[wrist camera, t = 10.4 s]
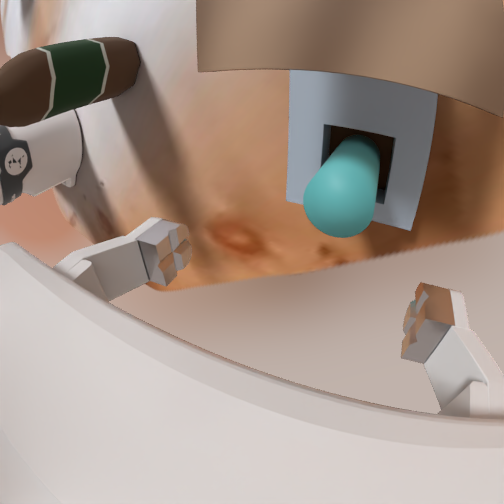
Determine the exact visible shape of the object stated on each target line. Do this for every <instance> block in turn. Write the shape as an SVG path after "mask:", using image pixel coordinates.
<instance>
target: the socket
mask: <svg viewBox="0 0 504 504" xmlns="http://www.w3.org/2000/svg"><path fill="white" fill-rule="evenodd" d="M437 98H438V94H436V93H433V92H429V91H426V90H422V89H418V88H415V87H411V86H406V85H402V84H398V83H393V82H388V81H383V80H378V79H373V78H367V77H361V76H354V75H347V74H339V73H329V72H319V71H305V70H290V96H289V140H288V168H287V192H286V201H289V202H294V203H298V204H303V196H304V192H305V189H306V187H307V185H308V183H309V182H310V181H311V179H312V178H313V177H314V176H315V174H316V173H317V172H318V171H319V169H320V168H321V167H322V166H323V164H324V163H325V162H326V161H327V159H328V158H329V148H330V136H331V125H334V126H340V127H346V128H352V129H357V130H362V131H368V132H372V133H377V134H382V135H386V136H390V137H394V139H393V146H392V153H391V159H390V165H389V171H388V177H387V182H386V187H385V190H382V189H378V188H377V194H376V201H375V208H374V214H373V218H372V220H371V221H375V222H379V223H383V224H387V225H391V226H394V227H398V228H402V229H405V230H409V231H411V228H412V224H413V221H414V218H415V214H416V210H417V207H418V203H419V199H420V195H421V191H422V187H423V183H424V178H425V174H426V169H427V164H428V159H429V154H430V149H431V143H432V137H433V130H434V124H435V116H436V108H437ZM303 205H304V204H303Z"/></svg>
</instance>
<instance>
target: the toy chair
mask: <svg viewBox="0 0 504 504" xmlns="http://www.w3.org/2000/svg"><path fill="white" fill-rule="evenodd" d="M196 24H197V60H198V72H214V71H228V70H251V69H282V70H305V71H319V72H329V73H339V74H347V75H354V76H361V77H367V78H373V79H378V80H383V81H388V82H393V83H398V84H402V85H406V86H411V87H415V88H418V89H422V90H426V91H429V92H433V93H436V94H439V95H443V96H446V97H449V98H452V99H455V100H458V101H461V102H463V103H466V104H469V105H472V106H474V107H477V108H479V109H482V110H484V111H487V112H489V113H491V114H494V115H497V116H500V117H502V118H503V115H504V7H503V0H196Z"/></svg>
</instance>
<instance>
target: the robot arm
mask: <svg viewBox="0 0 504 504" xmlns="http://www.w3.org/2000/svg"><path fill="white" fill-rule="evenodd" d="M81 159H82V138H81V132H80V127H79V123H78V119H77V116H76V114H75V111H74V109H73V110H70V111H67V112H64V113H61V114H59V115H56V116H53V117H51V118H48V119H45V120H43V121H40V122H37V123H34V124H31V125H28V126H25V127H7V126H3V125H0V205H1V204H2V205H6V204H7V203H9V202H12V201H14V199H16V198H17V197H19V196H21V193H27V194H29V195H32V196H37V195H39V194H41V193H43V192H45V191H47V190H49V189H50V188H53V187H55V186H57V185H59V184H63V185H65V186H67V187H72V186H74V185H75V179H76V173H77V171H78V169H79V167H80V164H81ZM188 236H189V231H188V227H187V226H186V225H185V224H182V223H178V222H174V221H170V220H166V219H162V218H157V217H151V218H150V219H148V220H147V221H146V222H144V223H143V224H141V225H140V226H139V227H137V228H136V229H135V230H133V231H132V232H131V233H129V234H128V235H127V236H120V237H117V238H114V239H111V240H107V241H104V242H101V243H98V244H95V245H92V246H89V247H86V248H83V249H80V250H77V251H74V252H72V253H71V254H69V255H68V256H67V257H65V258H64V259H63V260H62V261H60V262H59V263H58V264H57V265H56V266H54V267H53V268H51V267H50V266H48V265H47V264H45V263H44V262H42V261H41V260H39V259H38V258H36V257H35V256H34V255H32V254H31V253H29V252H28V251H26V250H25V249H24V248H22V247H21V246H20V245H19V244H17V243H14V242H11V243H7V244H3V245H0V504H504V375H503V374H502V372H501V370H500V369H499V367H498V366H497V364H496V363H495V361H494V359H493V358H492V356H491V355H490V354H489V352H488V351H487V349H486V348H485V346H484V345H483V343H482V342H481V340H480V339H479V338H478V336H477V335H476V334H475V332H474V331H473V330H470V328H469V322H468V317H467V311H466V306H465V301H464V297H463V293H462V292H460V291H456V290H452V289H445V288H441V287H438V286H434V285H429V284H425V283H420V284H419V286H418V287H417V289H416V292H415V297H416V298H415V300H414V301H412V302H411V303H410V305H409V307H408V309H407V312H406V315H405V318H404V324H403V331H404V333H405V335H406V336H405V338H404V339H403V341H402V352H401V358H403V359H407V360H411V361H415V362H419V363H423V364H424V367H425V369H426V372H427V374H428V376H429V379H430V381H431V384H432V386H433V389H434V391H435V394H436V397H437V399H438V402H439V405H440V407H441V411H440V412H439V413H438V414H430V413H423V412H417V411H411V410H405V409H399V408H394V407H389V406H384V405H379V404H375V403H370V402H365V401H361V400H357V399H352V398H349V397H345V396H340V395H337V394H333V393H329V392H325V391H322V390H318V389H315V388H311V387H308V386H305V385H301V384H298V383H295V382H292V381H289V380H286V379H282V378H279V377H276V376H273V375H270V374H268V373H265V372H262V371H259V370H256V369H253V368H250V367H248V366H245V365H242V364H240V363H237V362H234V361H232V360H230V359H227V358H224V357H222V356H220V355H217V354H214V353H212V352H210V351H207V350H205V349H202V348H200V347H198V346H196V345H193V344H191V343H189V342H187V341H184V340H182V339H180V338H178V337H175V336H174V335H171V334H169V333H167V332H165V331H163V330H161V329H159V328H157V327H155V326H153V325H151V324H149V323H147V322H145V321H143V320H141V319H139V318H137V317H135V316H133V315H131V314H129V313H127V312H125V311H123V310H122V309H120V308H118V307H116V306H114V305H112V304H111V303H109V301H111V300H113V299H115V298H116V297H119V296H121V295H123V294H125V293H127V292H129V291H131V290H133V289H135V288H136V287H139V286H141V285H143V284H145V283H147V282H149V280H150V281H152V282H155V283H158V284H161V285H164V286H167V285H168V284H169V283H170V282H171V281H172V280H173V279H174V278H175V277H176V276H177V271H178V270H181V269H184V268H185V267H186V266H187V264H188V263H189V261H190V258H191V254H192V249H191V244H190V243H189V242H188V240H187V238H188Z"/></svg>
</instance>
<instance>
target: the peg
mask: <svg viewBox="0 0 504 504" xmlns="http://www.w3.org/2000/svg"><path fill="white" fill-rule="evenodd" d="M379 168H380V151H379V148H378V146H377V145H376V144H375V142H374V141H373V140H371V139H370V138H368V137H367V136H364V135H359V134H355V135H351V136H348V137H346V138H345V139H344V140H343V141H342V142H341V143H340V144H339V146H338V147H337V148H336V149H335V151H334V152H333V153H332V154H331V156H330V157H329V158H328V159H327V161H326V162H325V163H324V164H323V166H322V167H321V168H320V169H319V171H318V172H317V173H316V174H315V176H314V177H313V178H312V179H311V181H310V182H309V183H308V185H307V187H306V189H305V192H304V196H303V204H304V209H305V212H306V215H307V217H308V218H309V220H310V221H311V223H312V224H313V225H314V226H315V227H316V228H317V229H319V230H320V231H322V232H323V233H325V234H328V235H330V236H334V237H341V238H345V237H351V236H355V235H357V234H359V233H361V232H362V231H363V230H365V229H366V228H367V226H368V225H369V224H370V222H371V220H372V218H373V214H374V208H375V201H376V194H377V186H378V177H379Z"/></svg>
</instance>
